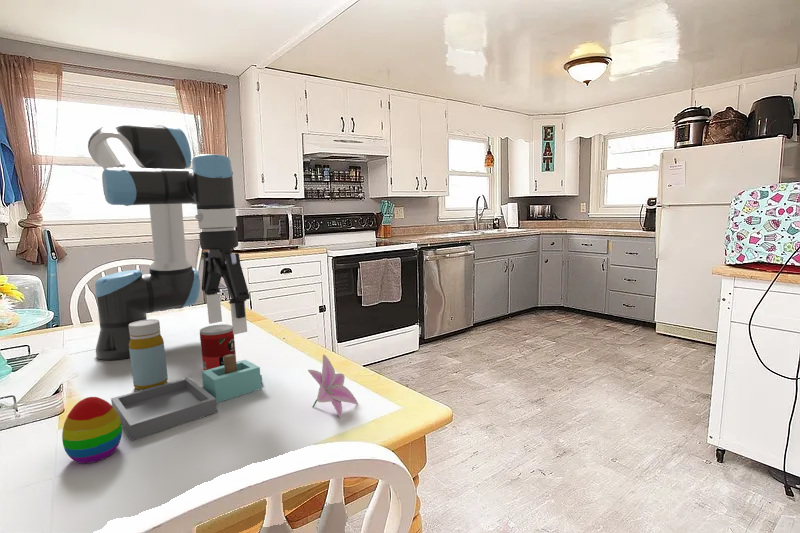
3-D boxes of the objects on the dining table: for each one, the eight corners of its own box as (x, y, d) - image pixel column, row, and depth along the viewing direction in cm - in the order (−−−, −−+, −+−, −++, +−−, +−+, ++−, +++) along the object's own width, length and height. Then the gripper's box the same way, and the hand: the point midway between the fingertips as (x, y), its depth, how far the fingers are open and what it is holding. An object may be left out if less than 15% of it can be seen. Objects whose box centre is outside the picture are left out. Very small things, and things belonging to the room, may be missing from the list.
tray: (112, 411, 91) (111, 398, 91) (189, 389, 101) (188, 377, 101) (132, 440, 79) (130, 425, 79) (217, 412, 89) (216, 398, 89)
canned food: (225, 377, 108) (221, 332, 107) (196, 375, 110) (192, 332, 108) (243, 365, 116) (239, 324, 114) (215, 364, 117) (211, 323, 116)
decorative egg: (52, 466, 72) (43, 407, 71) (97, 440, 80) (90, 386, 79) (94, 471, 70) (86, 410, 69) (135, 444, 78) (129, 389, 77)
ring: (203, 392, 99) (201, 371, 98) (253, 378, 107) (251, 357, 106) (216, 402, 94) (214, 380, 93) (267, 386, 101) (266, 365, 101)
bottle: (174, 380, 107) (168, 319, 105) (150, 392, 100) (142, 327, 98) (152, 378, 109) (145, 318, 107) (126, 389, 103) (118, 325, 101)
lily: (309, 434, 81) (332, 391, 80) (279, 393, 89) (300, 353, 87) (355, 428, 90) (377, 389, 89) (325, 392, 98) (344, 355, 96)
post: (225, 390, 100) (221, 356, 99) (236, 387, 101) (232, 353, 100) (229, 394, 98) (226, 358, 97) (240, 390, 100) (237, 355, 99)
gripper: (180, 230, 102) (190, 321, 104) (223, 231, 83) (233, 342, 86) (214, 228, 107) (222, 315, 109) (261, 229, 88) (269, 333, 91)
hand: (227, 327), depth 98 cm, fingers open, 13 cm apart
